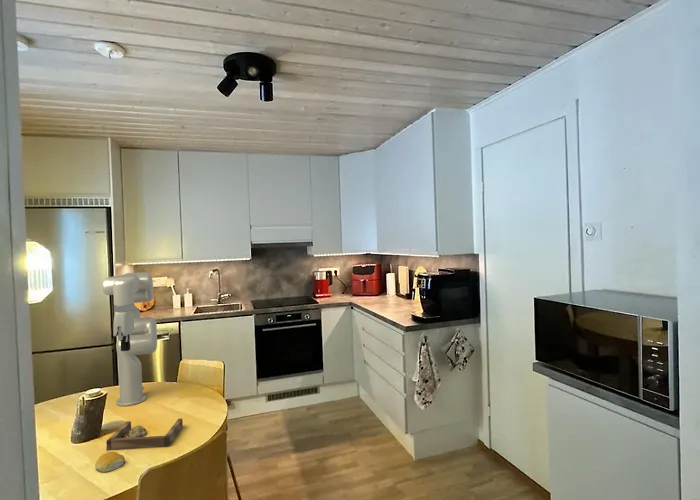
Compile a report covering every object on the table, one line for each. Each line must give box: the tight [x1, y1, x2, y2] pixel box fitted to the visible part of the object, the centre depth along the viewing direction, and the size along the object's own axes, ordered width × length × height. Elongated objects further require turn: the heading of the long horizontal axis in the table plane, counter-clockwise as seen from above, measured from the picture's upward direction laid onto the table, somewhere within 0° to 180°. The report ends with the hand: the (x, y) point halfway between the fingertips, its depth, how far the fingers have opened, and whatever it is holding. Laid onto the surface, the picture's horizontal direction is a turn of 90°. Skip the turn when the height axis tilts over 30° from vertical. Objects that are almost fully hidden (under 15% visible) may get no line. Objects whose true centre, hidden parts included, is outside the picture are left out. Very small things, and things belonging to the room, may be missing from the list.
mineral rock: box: [124, 425, 147, 438], centre depth 157 cm, size 11×4×8 cm
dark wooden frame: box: [105, 417, 184, 451], centre depth 156 cm, size 16×22×4 cm
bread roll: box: [94, 451, 126, 473], centre depth 137 cm, size 8×9×4 cm
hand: (125, 350), depth 172 cm, fingers closed
